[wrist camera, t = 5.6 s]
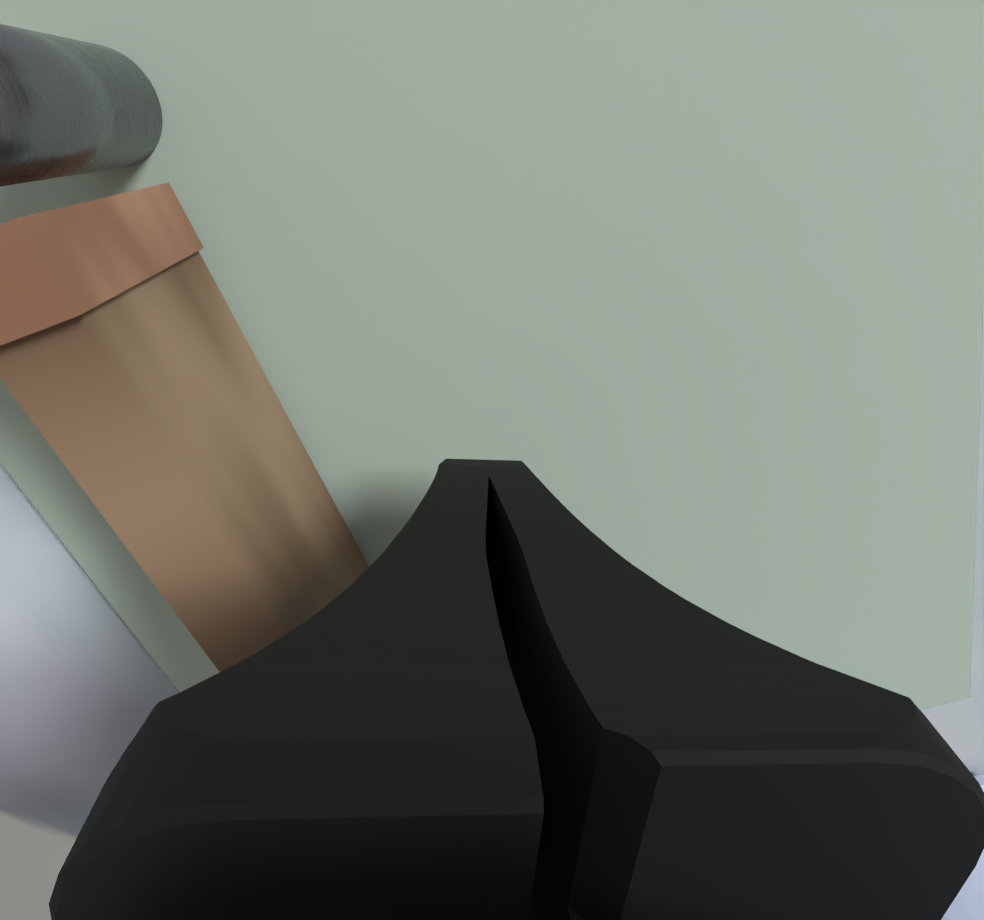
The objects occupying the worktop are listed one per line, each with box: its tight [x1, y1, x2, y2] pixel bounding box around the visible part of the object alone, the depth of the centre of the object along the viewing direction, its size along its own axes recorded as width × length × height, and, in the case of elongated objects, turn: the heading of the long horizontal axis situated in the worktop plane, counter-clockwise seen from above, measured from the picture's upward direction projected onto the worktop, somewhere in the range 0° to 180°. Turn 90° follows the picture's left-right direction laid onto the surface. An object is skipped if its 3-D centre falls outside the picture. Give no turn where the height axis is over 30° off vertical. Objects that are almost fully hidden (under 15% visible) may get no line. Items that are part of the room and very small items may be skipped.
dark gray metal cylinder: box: [0, 24, 163, 186], centre depth 11 cm, size 18×2×6 cm, turn 18°
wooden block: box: [0, 182, 369, 672], centre depth 11 cm, size 14×1×4 cm, turn 19°
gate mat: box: [0, 0, 984, 710], centre depth 13 cm, size 21×18×1 cm
